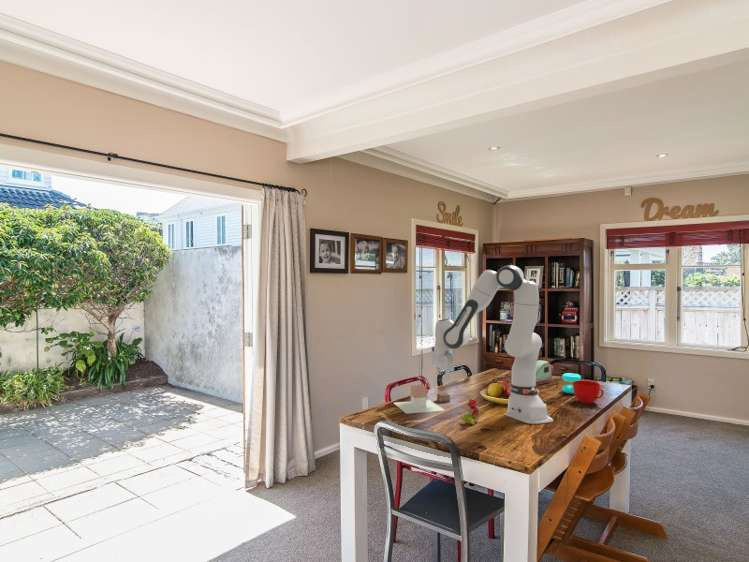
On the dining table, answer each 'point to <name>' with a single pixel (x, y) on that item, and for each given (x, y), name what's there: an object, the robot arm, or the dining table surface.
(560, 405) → the dining table surface
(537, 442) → the dining table surface
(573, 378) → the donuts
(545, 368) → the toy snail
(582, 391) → the ceramic cup
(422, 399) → the block
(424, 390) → the block
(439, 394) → the walnut cube
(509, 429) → the dining table surface
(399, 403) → the baseplate
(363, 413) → the dining table surface
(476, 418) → the bird rattle
